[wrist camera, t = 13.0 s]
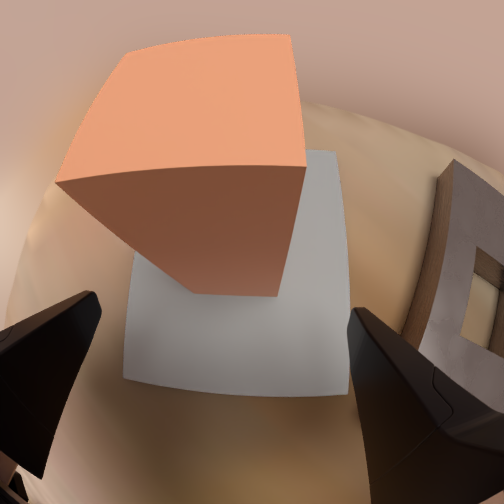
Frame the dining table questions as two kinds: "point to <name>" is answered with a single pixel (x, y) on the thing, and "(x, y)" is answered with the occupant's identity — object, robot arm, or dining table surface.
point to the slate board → (254, 314)
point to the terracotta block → (197, 160)
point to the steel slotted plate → (461, 283)
